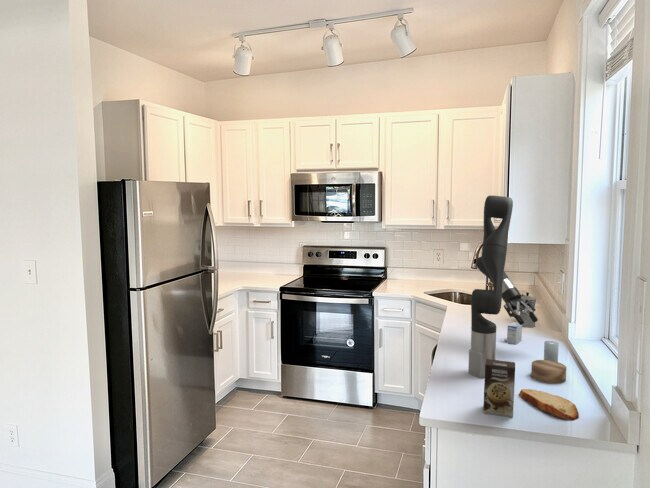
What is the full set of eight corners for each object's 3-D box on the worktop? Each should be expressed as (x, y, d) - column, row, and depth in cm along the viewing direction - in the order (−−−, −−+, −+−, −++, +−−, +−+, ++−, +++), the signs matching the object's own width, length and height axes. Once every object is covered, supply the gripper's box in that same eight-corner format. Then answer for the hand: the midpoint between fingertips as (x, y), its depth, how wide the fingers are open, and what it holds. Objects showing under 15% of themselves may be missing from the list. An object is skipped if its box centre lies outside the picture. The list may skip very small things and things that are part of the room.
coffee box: (482, 413, 151) (484, 364, 150) (483, 405, 157) (485, 358, 156) (513, 418, 148) (515, 368, 146) (513, 409, 154) (515, 361, 152)
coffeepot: (540, 328, 249) (541, 295, 247) (521, 328, 249) (522, 294, 248) (529, 321, 264) (530, 289, 262) (512, 321, 265) (513, 289, 263)
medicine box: (512, 339, 231) (512, 321, 230) (521, 341, 228) (522, 323, 227) (506, 343, 225) (507, 325, 224) (516, 345, 222) (517, 326, 221)
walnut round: (552, 386, 173) (552, 373, 173) (524, 375, 184) (524, 363, 183) (572, 380, 179) (573, 367, 179) (544, 370, 190) (545, 358, 189)
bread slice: (518, 392, 169) (519, 382, 168) (576, 401, 161) (576, 390, 161) (516, 412, 152) (516, 401, 152) (579, 423, 145) (580, 412, 144)
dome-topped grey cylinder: (552, 369, 189) (553, 345, 188) (540, 365, 194) (541, 342, 193) (560, 367, 192) (561, 343, 191) (548, 363, 196) (549, 340, 195)
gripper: (501, 288, 203) (523, 320, 194) (524, 284, 210) (546, 315, 201) (491, 297, 209) (512, 329, 200) (513, 294, 215) (534, 325, 207)
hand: (529, 322), depth 201 cm, fingers open, 8 cm apart
